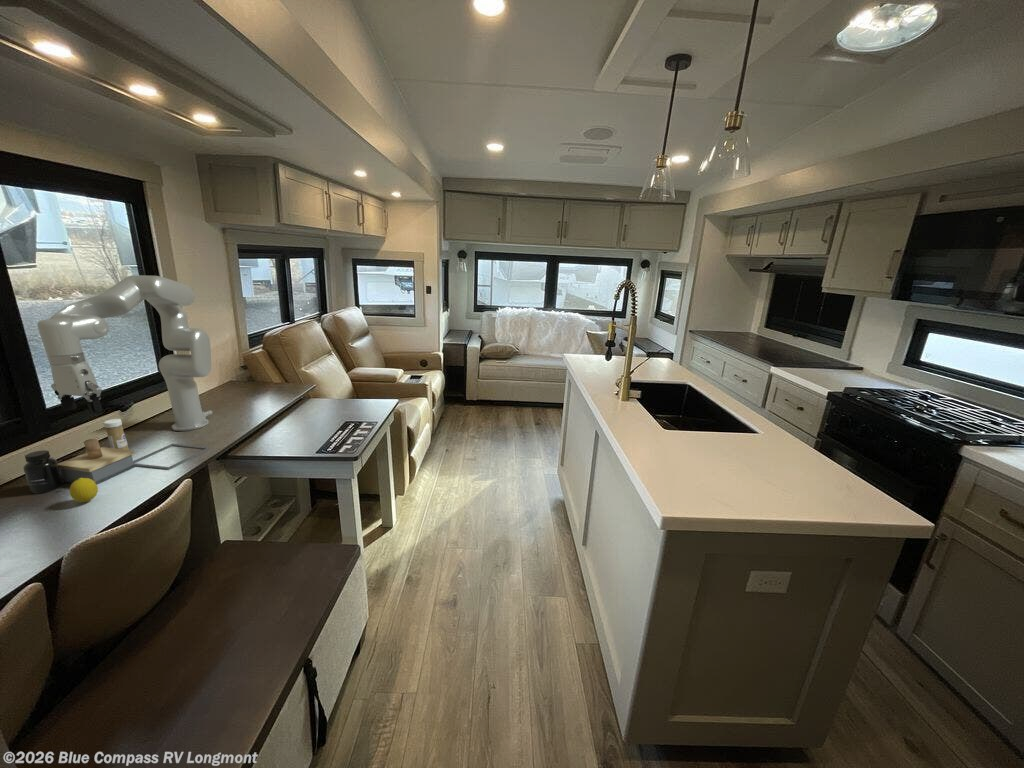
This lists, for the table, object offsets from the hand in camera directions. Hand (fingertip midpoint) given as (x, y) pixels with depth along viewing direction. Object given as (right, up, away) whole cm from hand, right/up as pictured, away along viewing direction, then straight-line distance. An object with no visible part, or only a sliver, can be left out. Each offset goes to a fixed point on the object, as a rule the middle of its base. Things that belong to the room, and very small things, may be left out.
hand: (83, 411), depth 127 cm
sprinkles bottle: (-7, -17, +19) cm, 27 cm away
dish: (-1, -21, +6) cm, 22 cm away
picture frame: (+12, -18, +19) cm, 29 cm away
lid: (0, -17, +4) cm, 17 cm away
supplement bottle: (-8, -24, -3) cm, 26 cm away
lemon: (+11, -27, -9) cm, 30 cm away
